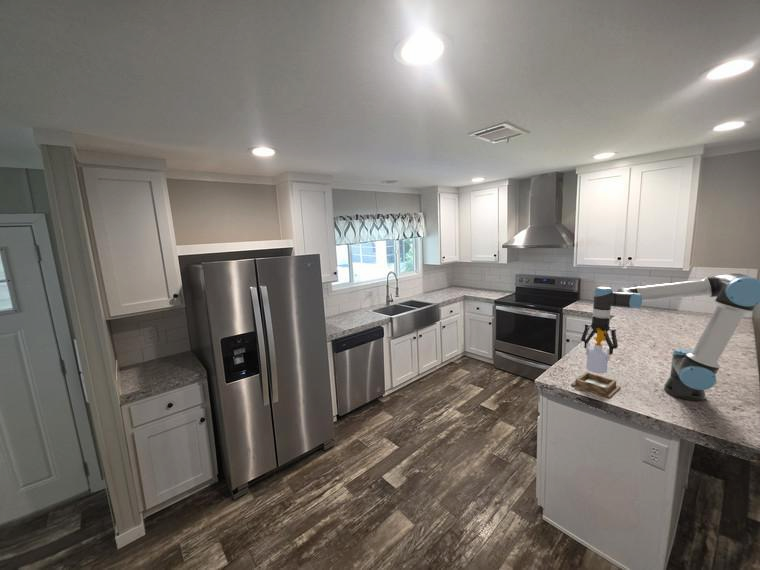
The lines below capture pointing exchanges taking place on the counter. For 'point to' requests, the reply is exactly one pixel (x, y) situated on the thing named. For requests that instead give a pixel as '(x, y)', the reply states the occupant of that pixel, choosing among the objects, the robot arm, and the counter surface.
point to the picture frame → (597, 384)
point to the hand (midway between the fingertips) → (597, 357)
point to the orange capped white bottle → (597, 355)
